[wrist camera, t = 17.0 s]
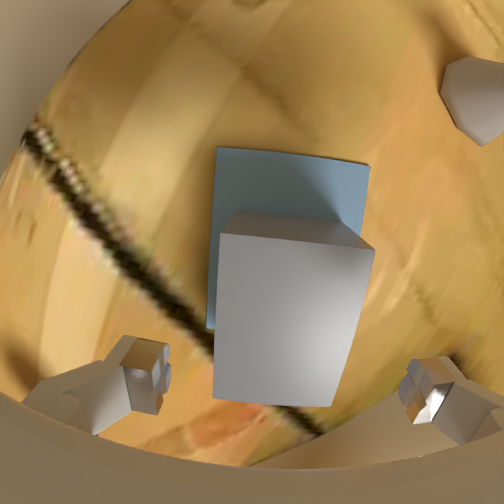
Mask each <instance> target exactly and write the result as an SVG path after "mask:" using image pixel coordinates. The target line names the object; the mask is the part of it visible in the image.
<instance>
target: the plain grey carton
mask: <svg viewBox="0 0 504 504" xmlns="http://www.w3.org/2000/svg"><path fill="white" fill-rule="evenodd" d="M374 254H375V249H374V248H373V247H371V246H370V245H369V244H368V243H367V242H366V241H364V240H363V239H362V238H361V237H360V236H358V235H357V234H356V233H355V232H354V231H352V230H351V229H350V228H349V227H348V226H346V225H345V224H344V223H343V222H340V221H332V220H324V219H316V218H308V217H300V216H291V215H282V214H273V213H263V212H253V211H243V210H235V212H234V213H233V215H232V216H231V218H230V219H229V221H228V222H227V224H226V225H225V227H224V228H223V230H222V231H221V233H220V247H219V262H218V279H217V298H216V319H215V342H214V372H213V398H214V399H221V400H229V401H238V402H247V403H257V404H270V405H286V406H313V407H330V406H331V404H332V401H333V398H334V396H335V393H336V390H337V387H338V385H339V382H340V379H341V376H342V373H343V370H344V367H345V364H346V361H347V358H348V354H349V351H350V348H351V345H352V341H353V338H354V335H355V331H356V328H357V324H358V321H359V317H360V313H361V310H362V306H363V302H364V298H365V294H366V290H367V286H368V282H369V277H370V273H371V268H372V264H373V259H374Z"/></svg>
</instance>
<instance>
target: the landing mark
mask: <svg viewBox="0 0 504 504" xmlns="http://www.w3.org/2000/svg"><path fill="white" fill-rule="evenodd" d="M369 172H370V166H366V165H361V164H356V163H350V162H344V161H338V160H332V159H325V158H319V157H312V156H304V155H297V154H289V153H280V152H271V151H261V150H250V149H238V148H224V147H217V154H216V166H215V178H214V190H213V204H212V219H211V235H210V252H209V272H208V295H207V325H206V328H211V329H215V319H216V298H217V279H218V262H219V247H220V233H221V231H222V230H223V228H224V227H225V225H226V224H227V222H228V221H229V219H230V218H231V216H232V215H233V213H234V212H235V210H243V211H253V212H263V213H273V214H282V215H291V216H300V217H308V218H316V219H324V220H332V221H340V222H343V223H344V224H345V225H346V226H348V227H349V228H350V229H351V230H352V231H354V232H355V233H356V234H357V235H358V236H360V232H361V227H362V221H363V215H364V208H365V201H366V195H367V187H368V180H369Z"/></svg>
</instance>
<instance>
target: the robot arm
mask: <svg viewBox="0 0 504 504" xmlns="http://www.w3.org/2000/svg"><path fill="white" fill-rule="evenodd" d="M169 356H170V347H169V345H168V343H163V342H158V341H153V340H148V339H143V338H138V337H134V336H129V335H124V336H122V337H121V339H120V340H119V341H118V342H117V344H116V345H115V346H114V348H113V349H112V350H111V351H110V353H109V354H108V355H107V357H106V358H105V359H104V361H101V360H98V361H95V362H93V363H90V364H87V365H84V366H82V367H79V368H76V369H73V370H71V371H68V372H65V373H62V374H59V375H57V376H54V377H51V378H48V379H45V380H42V381H40V382H39V383H38V384H37V385H36V386H35V387H34V388H33V389H32V391H31V392H30V393H29V394H28V395H27V396H26V397H25V399H24V400H23V401H22V402H21V403H20V402H18V401H16V400H15V399H13V398H11V397H9V396H7V395H6V394H4V393H2V392H0V504H504V396H502V395H499V394H497V393H495V392H493V391H491V390H489V389H487V388H485V387H483V386H481V385H479V384H477V383H475V382H473V381H471V380H467V379H466V378H465V377H464V376H463V374H462V373H461V372H460V371H459V370H458V368H457V367H456V366H455V365H454V364H453V362H452V361H451V360H450V359H449V358H448V357H446V356H443V357H435V358H426V359H412V361H411V362H410V363H409V365H408V367H407V371H408V374H407V375H406V376H405V377H404V378H403V379H402V381H401V384H400V386H399V397H400V400H401V402H402V404H404V405H405V406H407V407H408V408H407V411H406V412H407V414H408V416H409V418H410V420H411V422H412V424H418V423H426V422H432V424H434V425H435V426H436V427H437V428H439V429H440V430H441V431H442V432H443V433H445V434H446V435H447V436H448V437H450V438H451V439H452V440H453V441H455V442H456V443H457V444H458V445H459V446H456V447H453V448H449V449H446V450H442V451H438V452H435V453H430V454H426V455H422V456H417V457H413V458H408V459H402V460H397V461H392V462H386V463H378V464H371V465H363V466H355V467H342V468H327V469H263V468H248V467H236V466H227V465H219V464H211V463H204V462H198V461H192V460H186V459H181V458H176V457H171V456H166V455H162V454H157V453H153V452H149V451H145V450H141V449H137V448H134V447H130V446H127V445H123V444H120V443H117V442H113V441H110V440H107V439H104V438H101V437H98V436H95V435H97V434H98V433H100V432H101V431H103V430H105V429H106V428H108V427H109V426H111V425H112V424H114V423H115V422H117V421H118V420H120V419H121V418H123V417H124V416H126V415H127V414H129V413H130V412H132V410H134V411H138V412H143V413H148V414H153V415H158V413H159V410H160V408H161V406H162V403H163V394H165V393H166V392H167V391H168V388H169V384H170V379H171V365H170V364H169V363H168V361H167V360H168V358H169Z"/></svg>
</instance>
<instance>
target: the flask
mask: <svg viewBox="0 0 504 504" xmlns="http://www.w3.org/2000/svg"><path fill="white" fill-rule="evenodd" d="M440 95H441V97H442V99H443V100H444V102H445V104H446V106H447V108H448V110H449V112H450V114H451V116H452V118H453V120H454V122H455V124H456V126H457V128H458V129H459V130H461V131H462V132H463V133H465V134H466V135H467V136H469V137H470V138H471V139H473V140H474V141H475V142H476V143H478V144H479V145H480V146H481V147H482V146H484V145H486V144H487V143H489V142H490V141H492V140H493V139H495V138H496V137H497V136H499V135H500V134H502V133H503V132H504V63H500V62H494V61H490V60H485V59H480V58H475V57H469V56H466V57H463V58H461V59H459V60H456V61H454V62H452V63H449V64H447V65H446V69H445V74H444V78H443V83H442V87H441V91H440Z"/></svg>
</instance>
